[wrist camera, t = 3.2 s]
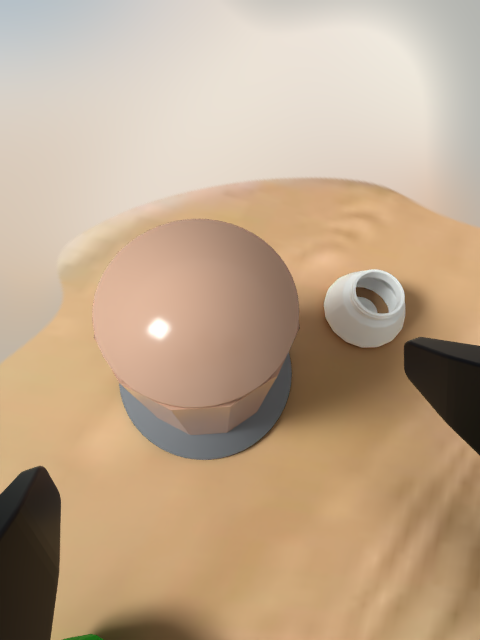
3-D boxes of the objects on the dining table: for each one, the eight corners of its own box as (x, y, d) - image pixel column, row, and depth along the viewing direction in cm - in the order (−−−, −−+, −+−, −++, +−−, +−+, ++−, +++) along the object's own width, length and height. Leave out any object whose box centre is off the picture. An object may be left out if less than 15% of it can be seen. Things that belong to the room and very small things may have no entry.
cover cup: (289, 341, 23) (328, 265, 14) (235, 458, 20) (245, 447, 12) (182, 291, 24) (161, 192, 15) (116, 396, 21) (48, 345, 13)
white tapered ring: (327, 350, 23) (406, 348, 23) (341, 333, 20) (430, 332, 21) (318, 278, 25) (391, 278, 25) (330, 254, 22) (412, 254, 23)
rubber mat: (315, 334, 23) (316, 333, 23) (245, 494, 20) (246, 494, 19) (175, 269, 25) (174, 267, 24) (85, 407, 21) (83, 407, 21)
